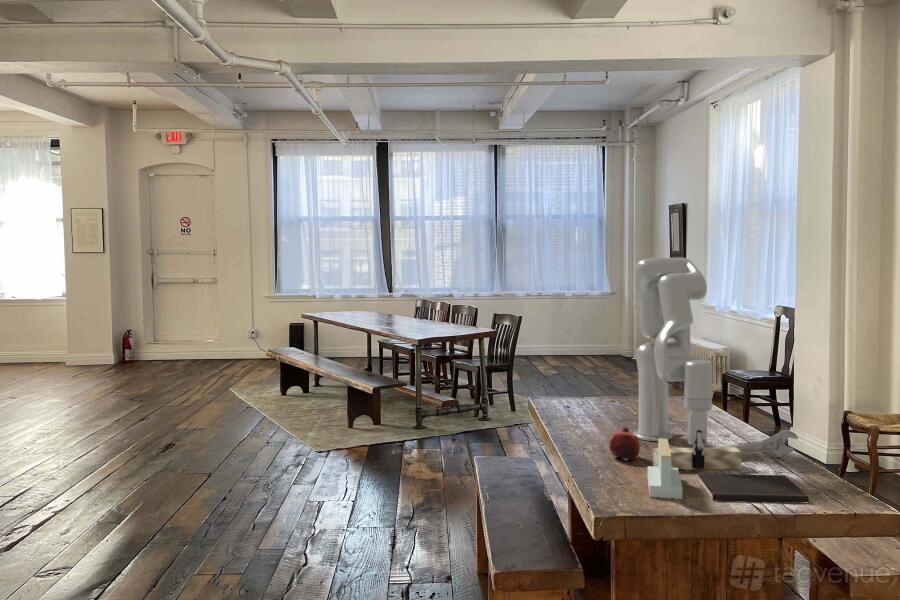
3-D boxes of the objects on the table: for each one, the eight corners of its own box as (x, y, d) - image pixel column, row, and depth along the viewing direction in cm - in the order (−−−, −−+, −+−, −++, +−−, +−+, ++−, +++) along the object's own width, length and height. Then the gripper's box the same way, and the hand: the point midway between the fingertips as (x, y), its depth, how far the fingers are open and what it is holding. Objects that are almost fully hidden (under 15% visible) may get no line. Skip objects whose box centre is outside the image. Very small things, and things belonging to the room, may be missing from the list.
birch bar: (735, 464, 204) (735, 447, 204) (741, 468, 200) (741, 451, 200) (653, 465, 204) (653, 448, 204) (657, 469, 200) (657, 452, 200)
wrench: (698, 467, 211) (796, 454, 211) (700, 469, 209) (800, 456, 209) (695, 441, 210) (794, 428, 210) (698, 443, 208) (797, 430, 209)
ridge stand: (647, 476, 194) (647, 437, 193) (677, 478, 192) (678, 439, 191) (649, 496, 179) (649, 454, 178) (682, 499, 177) (682, 456, 176)
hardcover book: (697, 481, 191) (697, 473, 191) (785, 483, 189) (785, 475, 189) (712, 503, 176) (712, 494, 175) (808, 505, 173) (808, 496, 173)
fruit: (626, 465, 205) (626, 431, 204) (602, 457, 212) (602, 425, 212) (647, 459, 210) (647, 426, 209) (623, 452, 217) (623, 420, 217)
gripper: (681, 396, 210) (681, 455, 211) (686, 409, 193) (686, 473, 195) (708, 397, 208) (707, 457, 209) (715, 410, 192) (714, 475, 193)
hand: (697, 464), depth 202 cm, fingers closed on birch bar, 5 cm apart
